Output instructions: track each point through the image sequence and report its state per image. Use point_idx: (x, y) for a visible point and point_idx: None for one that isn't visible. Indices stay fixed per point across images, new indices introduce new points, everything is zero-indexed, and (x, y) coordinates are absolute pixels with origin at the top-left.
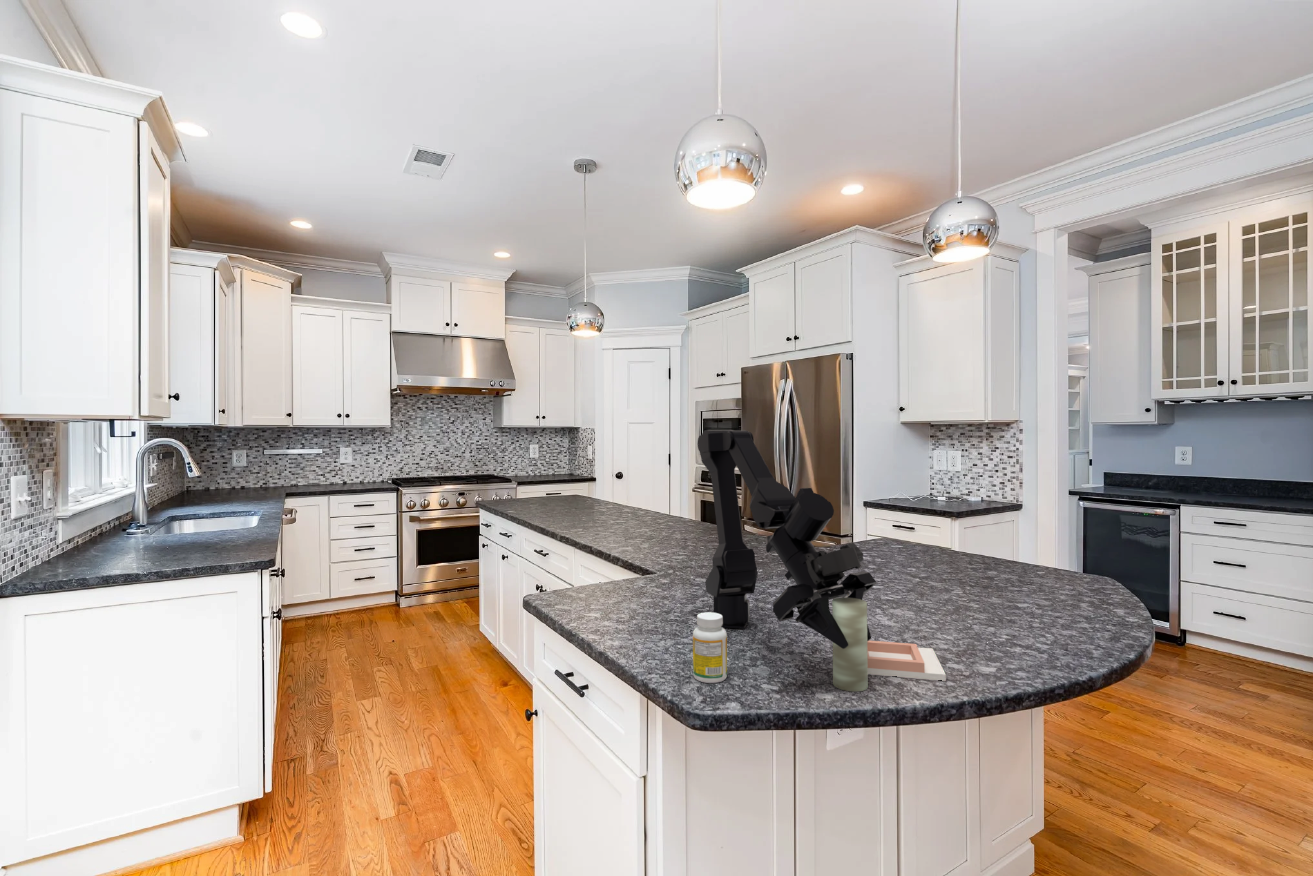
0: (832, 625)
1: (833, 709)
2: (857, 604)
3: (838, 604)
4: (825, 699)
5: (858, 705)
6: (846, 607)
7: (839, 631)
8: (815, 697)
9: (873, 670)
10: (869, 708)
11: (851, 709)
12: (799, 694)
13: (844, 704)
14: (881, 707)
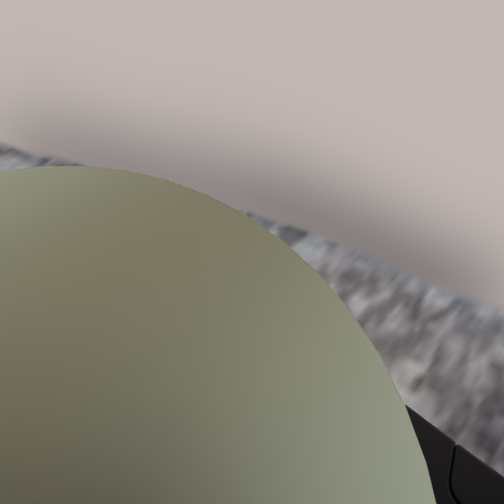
0: (452, 446)
1: (441, 291)
2: (52, 261)
3: (429, 495)
4: (417, 376)
5: (330, 275)
6: (335, 297)
7: None
8: (447, 414)
9: None
10: (311, 240)
11: (377, 262)
12: None
13: (374, 305)
14: (267, 228)
